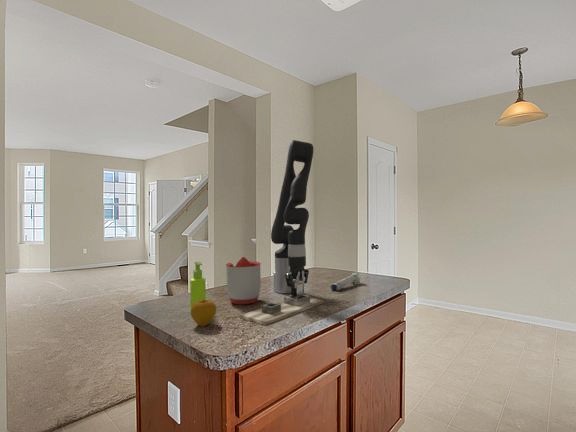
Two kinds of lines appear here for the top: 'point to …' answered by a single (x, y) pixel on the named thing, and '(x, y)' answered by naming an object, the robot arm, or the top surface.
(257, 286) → the citrus juicer
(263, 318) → the socket board
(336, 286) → the grey piece
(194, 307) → the apple
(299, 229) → the robot arm
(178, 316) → the top surface
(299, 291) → the pipe fitting
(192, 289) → the soap dispenser
